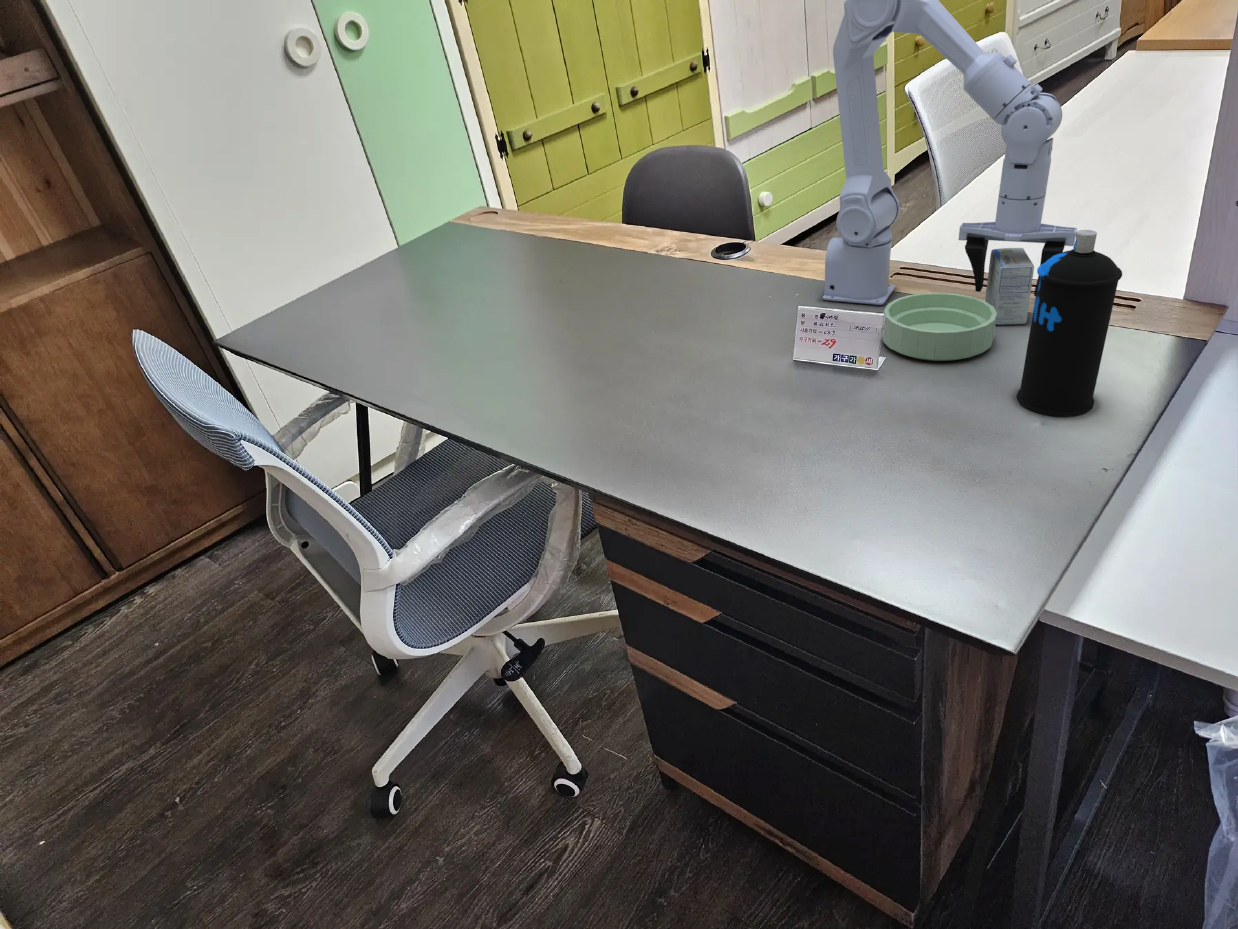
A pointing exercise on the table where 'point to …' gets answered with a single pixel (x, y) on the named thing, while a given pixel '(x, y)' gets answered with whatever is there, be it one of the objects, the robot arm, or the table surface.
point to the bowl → (939, 326)
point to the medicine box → (1009, 285)
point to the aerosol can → (1069, 329)
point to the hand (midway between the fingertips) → (1007, 291)
